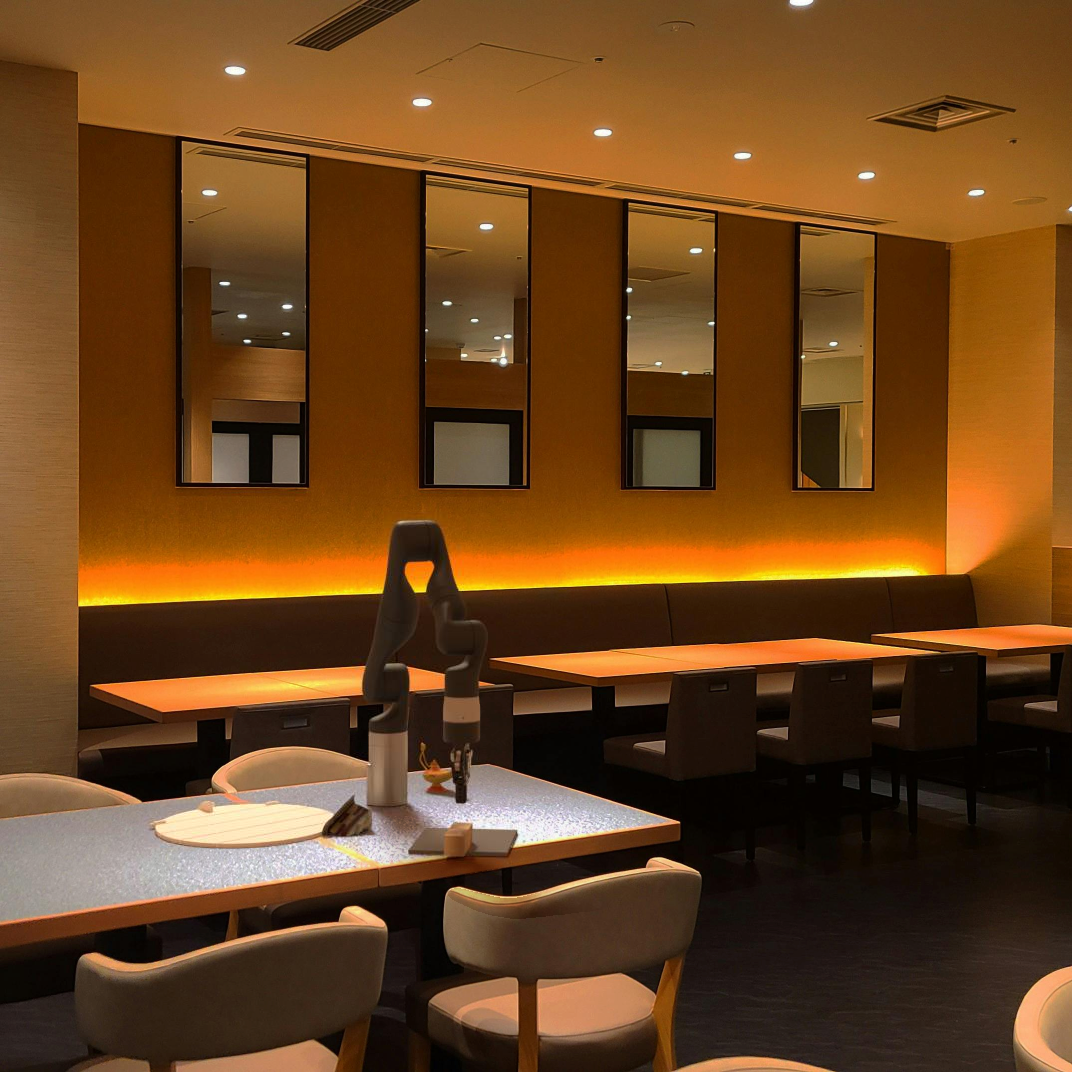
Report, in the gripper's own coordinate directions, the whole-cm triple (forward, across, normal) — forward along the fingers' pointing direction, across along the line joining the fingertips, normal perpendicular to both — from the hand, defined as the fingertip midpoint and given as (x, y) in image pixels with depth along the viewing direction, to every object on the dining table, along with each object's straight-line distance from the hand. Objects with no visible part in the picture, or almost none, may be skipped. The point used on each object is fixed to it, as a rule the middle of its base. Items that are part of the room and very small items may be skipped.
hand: (461, 802), depth 267 cm
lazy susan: (+10, +16, +50) cm, 53 cm away
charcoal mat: (+10, +5, 0) cm, 11 cm away
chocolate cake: (+10, +13, +26) cm, 31 cm away
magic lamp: (+10, +59, +14) cm, 61 cm away
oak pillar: (+7, +3, 0) cm, 7 cm away
